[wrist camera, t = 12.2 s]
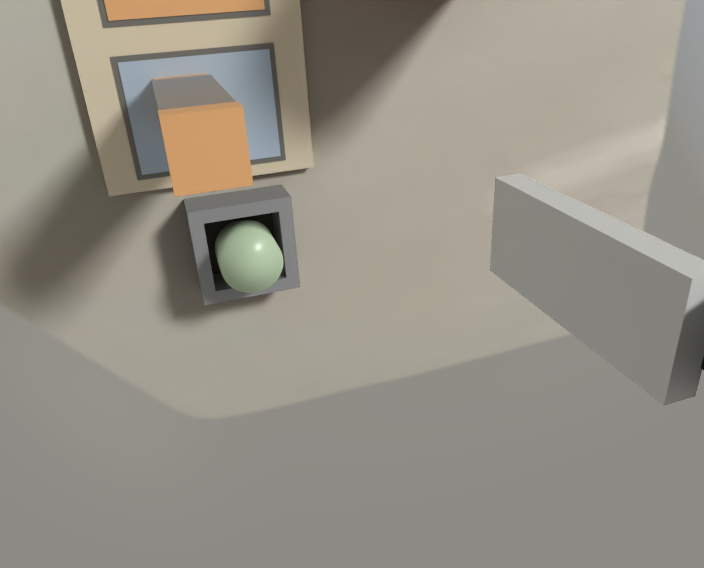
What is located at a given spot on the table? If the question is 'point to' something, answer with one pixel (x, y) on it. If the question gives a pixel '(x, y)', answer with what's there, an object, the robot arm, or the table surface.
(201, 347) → the table surface
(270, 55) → the sheet
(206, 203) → the button collar
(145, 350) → the table surface
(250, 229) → the button
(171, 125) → the marker
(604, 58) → the table surface
